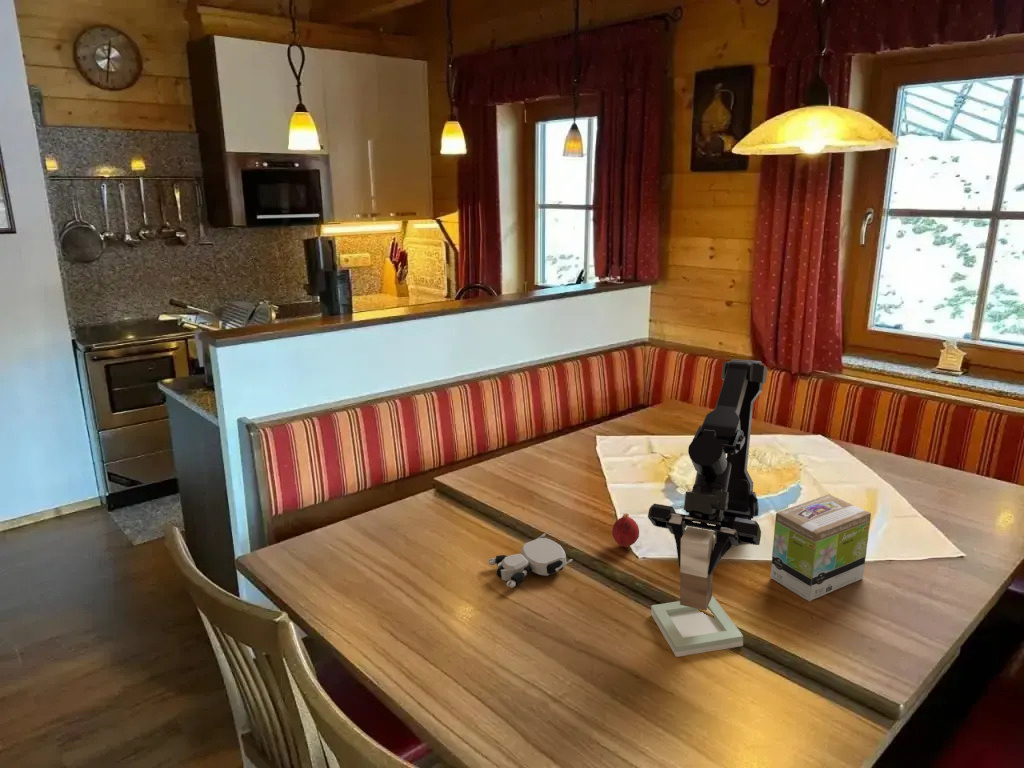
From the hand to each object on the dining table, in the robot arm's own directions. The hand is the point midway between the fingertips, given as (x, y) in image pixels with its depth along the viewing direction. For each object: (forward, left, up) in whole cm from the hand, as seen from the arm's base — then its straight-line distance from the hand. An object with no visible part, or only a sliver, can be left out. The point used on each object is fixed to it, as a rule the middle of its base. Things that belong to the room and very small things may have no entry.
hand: (694, 571), depth 121 cm
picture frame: (-1, -1, -13) cm, 13 cm away
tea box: (-30, -10, -13) cm, 34 cm away
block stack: (-1, -1, -7) cm, 7 cm away
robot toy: (+24, -27, -13) cm, 39 cm away
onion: (+2, -31, -13) cm, 34 cm away
